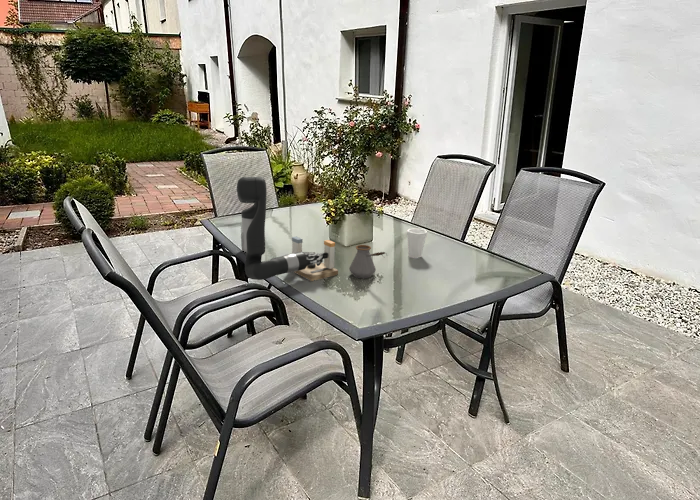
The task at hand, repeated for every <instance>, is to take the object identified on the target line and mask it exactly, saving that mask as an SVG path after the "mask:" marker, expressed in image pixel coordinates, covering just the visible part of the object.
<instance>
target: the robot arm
mask: <svg viewBox="0 0 700 500" xmlns="http://www.w3.org/2000/svg"><path fill="white" fill-rule="evenodd" d="M236 193H237V197H238V198H237V199H238V201H239V202H240V203H242V204H253V205H251V206H250V207H247V208H246V209H242V211H241V234H240V236H241V237H240V239H241V252H242V251H244V252H243V253H245V252H246V253H245V254H246V256H245V261H244V272H245V275H246V277H247V278H248V279H250V280H256V281H263V280H267V279H270V278H273V277H275V276H280V275H285V274H291V273H295V271H299V270H304V269H305V268H306V267H307V265H312V264H314V263H315V264H317V266H319V265H320V264H321V263H324V259H325V258H328V253H326V252H324V251H323V252H315V251H314V252H313V251H309V252H308V251H302V252H296V253H287V254H285V255H281V256H278V257H277V256H276V257H273V258H271V259H268V260H264V261H262V256H263V255H264V254H265V253H266V235H265V234H266V232H265V230H266V229H265V228H266V214H267V195H268V193H267V183H266V179H265V178H264V177H263V176H244V177H240V178H238V180H237V183H236Z"/></svg>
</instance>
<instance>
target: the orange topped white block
mask: <svg viewBox="0 0 700 500" xmlns="http://www.w3.org/2000/svg"><path fill="white" fill-rule="evenodd" d="M323 244H324V249H323V250H324V251H323V253H324V252H326V253H328V258H325V259H323V263H324V267H327V268H329V269H332V268H334V269H335V251H336V250H335V247H336V242H334V241H332V240H330V239H326V240H323Z"/></svg>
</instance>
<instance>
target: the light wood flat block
mask: <svg viewBox="0 0 700 500" xmlns="http://www.w3.org/2000/svg"><path fill="white" fill-rule="evenodd" d="M294 273H295V274H297V275H298V276H300V275H301V277H302V276H303V278H304V277H305V278H304V279H306V278H307V279H306V280H308V279H309V280H308V281H309V282H314V280H315V281H318V279H319V280H322V279H326V278H329V277H334V276H336V275H338V274H339V269H337V268H335V267H334V268H332V269H329V268H327V267H324V262H322V263H321V264H320V265H319V266H317V264H315V263H314V264H312V265H307V267H306V268H305V269H304V270H299V271H295V272H294Z"/></svg>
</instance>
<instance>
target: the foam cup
mask: <svg viewBox="0 0 700 500" xmlns="http://www.w3.org/2000/svg"><path fill="white" fill-rule="evenodd" d="M427 233H428V231H427V230H426V229H423V228H408V229H407V233H406V236H407V251H408V252H407V253H408V257H409V258H411V259H419V258H418V257H421V258H422V255H423V251H424V247H425V243H426V238H427Z"/></svg>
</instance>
